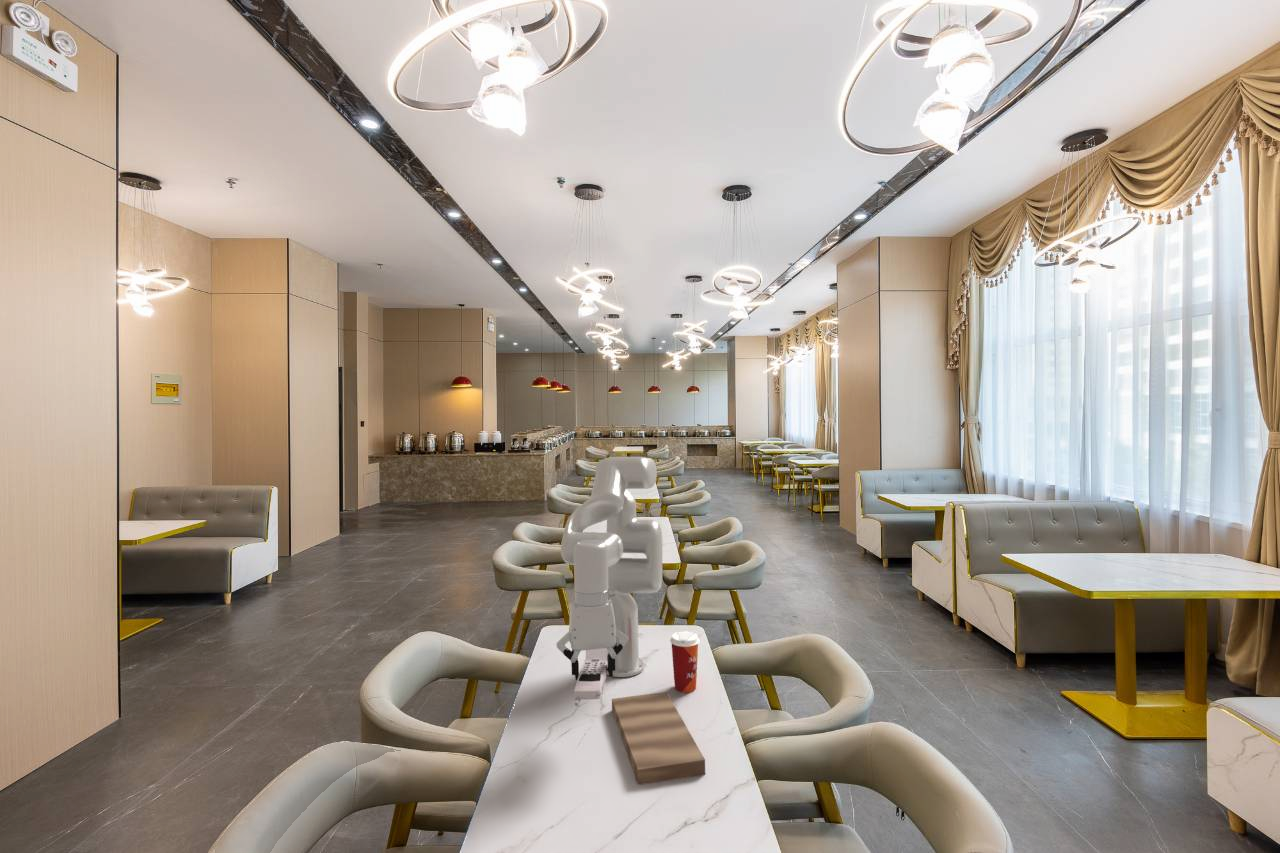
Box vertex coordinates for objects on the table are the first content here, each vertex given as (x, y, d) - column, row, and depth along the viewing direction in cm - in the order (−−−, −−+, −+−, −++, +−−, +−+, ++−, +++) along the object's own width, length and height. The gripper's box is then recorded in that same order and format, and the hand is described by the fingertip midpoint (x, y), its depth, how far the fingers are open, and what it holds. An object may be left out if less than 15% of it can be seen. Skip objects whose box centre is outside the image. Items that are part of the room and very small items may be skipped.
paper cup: (698, 695, 157) (697, 642, 157) (668, 693, 159) (668, 640, 158) (701, 682, 165) (700, 631, 164) (673, 680, 167) (672, 629, 166)
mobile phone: (612, 632, 148) (599, 679, 123) (613, 656, 148) (600, 707, 123) (587, 632, 148) (569, 679, 124) (588, 656, 149) (571, 708, 124)
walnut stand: (611, 710, 151) (611, 698, 150) (666, 703, 154) (666, 691, 153) (638, 784, 121) (637, 769, 121) (705, 774, 124) (705, 759, 124)
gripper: (627, 588, 140) (628, 664, 141) (551, 594, 137) (553, 672, 138) (633, 599, 133) (635, 679, 134) (553, 605, 130) (555, 688, 130)
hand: (593, 675), depth 136 cm, fingers closed on mobile phone, 6 cm apart
